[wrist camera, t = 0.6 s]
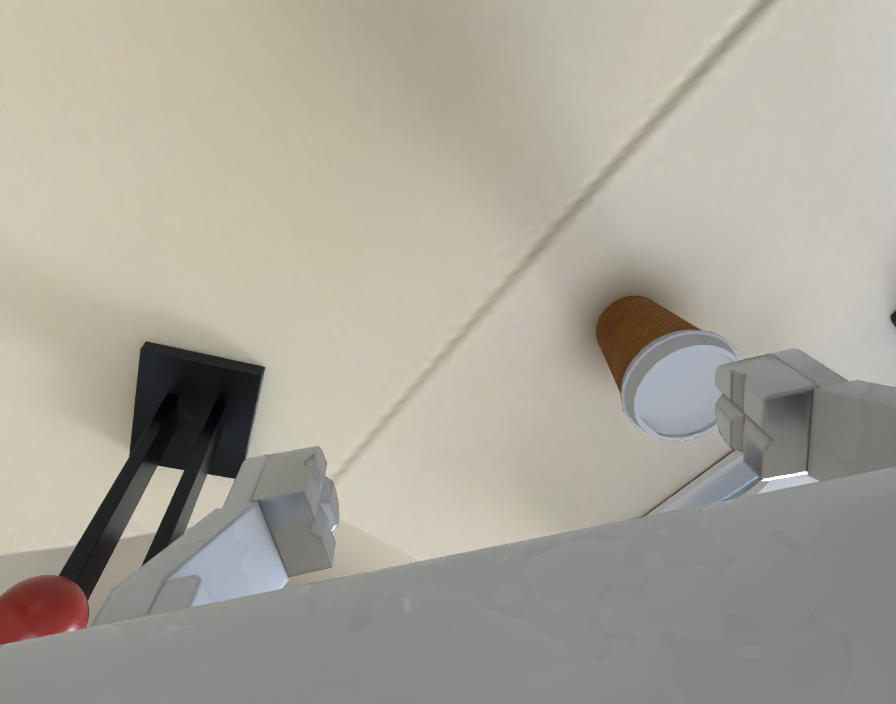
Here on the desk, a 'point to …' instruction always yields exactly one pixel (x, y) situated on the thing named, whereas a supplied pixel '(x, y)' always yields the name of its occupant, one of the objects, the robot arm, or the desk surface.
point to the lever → (42, 608)
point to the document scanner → (725, 485)
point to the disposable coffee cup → (663, 368)
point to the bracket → (172, 446)
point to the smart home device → (894, 318)
